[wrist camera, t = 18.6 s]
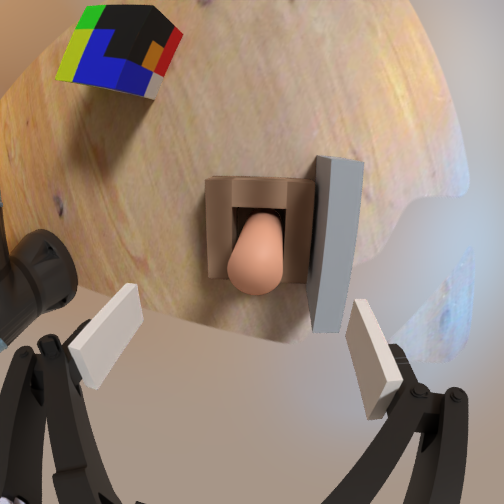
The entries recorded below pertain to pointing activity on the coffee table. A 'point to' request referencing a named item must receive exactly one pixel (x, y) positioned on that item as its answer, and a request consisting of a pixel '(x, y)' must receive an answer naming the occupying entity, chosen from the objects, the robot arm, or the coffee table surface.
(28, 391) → the robot arm
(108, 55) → the puzzle toy
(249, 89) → the coffee table surface
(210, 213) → the block
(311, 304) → the board
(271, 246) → the dowel
